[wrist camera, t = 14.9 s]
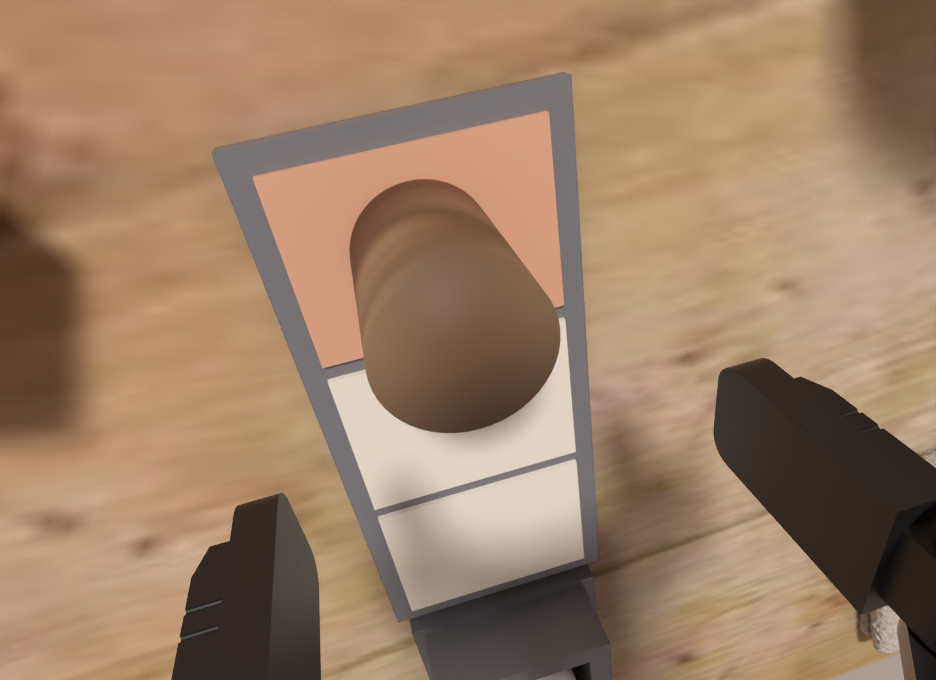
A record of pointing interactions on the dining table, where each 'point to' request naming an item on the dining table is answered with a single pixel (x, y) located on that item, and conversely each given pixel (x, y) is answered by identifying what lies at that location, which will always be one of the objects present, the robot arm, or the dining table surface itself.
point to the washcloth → (886, 611)
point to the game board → (341, 355)
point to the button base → (518, 633)
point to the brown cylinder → (447, 311)
